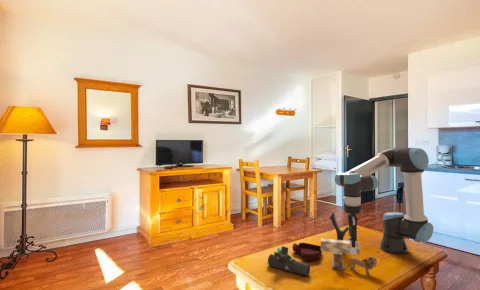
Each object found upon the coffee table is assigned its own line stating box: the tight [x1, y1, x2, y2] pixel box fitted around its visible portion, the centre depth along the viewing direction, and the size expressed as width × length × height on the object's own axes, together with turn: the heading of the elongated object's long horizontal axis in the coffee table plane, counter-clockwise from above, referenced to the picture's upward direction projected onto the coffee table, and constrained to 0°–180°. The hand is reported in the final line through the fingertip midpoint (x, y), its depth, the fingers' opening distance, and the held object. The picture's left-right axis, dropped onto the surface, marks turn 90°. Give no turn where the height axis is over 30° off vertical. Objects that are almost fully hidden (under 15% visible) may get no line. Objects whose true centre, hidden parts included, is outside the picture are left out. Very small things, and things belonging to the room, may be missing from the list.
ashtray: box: [292, 242, 323, 262], centre depth 160 cm, size 18×16×5 cm
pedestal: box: [331, 252, 345, 271], centre depth 146 cm, size 6×9×8 cm, turn 163°
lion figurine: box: [345, 256, 378, 276], centre depth 140 cm, size 15×5×9 cm, turn 62°
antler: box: [329, 211, 349, 240], centre depth 166 cm, size 12×8×25 cm
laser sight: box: [267, 245, 311, 277], centre depth 142 cm, size 10×22×10 cm, turn 56°
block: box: [320, 238, 361, 256], centre depth 135 cm, size 18×4×5 cm, turn 72°
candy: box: [276, 247, 292, 259], centre depth 158 cm, size 12×3×4 cm
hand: (352, 251), depth 133 cm, fingers closed on block, 4 cm apart
